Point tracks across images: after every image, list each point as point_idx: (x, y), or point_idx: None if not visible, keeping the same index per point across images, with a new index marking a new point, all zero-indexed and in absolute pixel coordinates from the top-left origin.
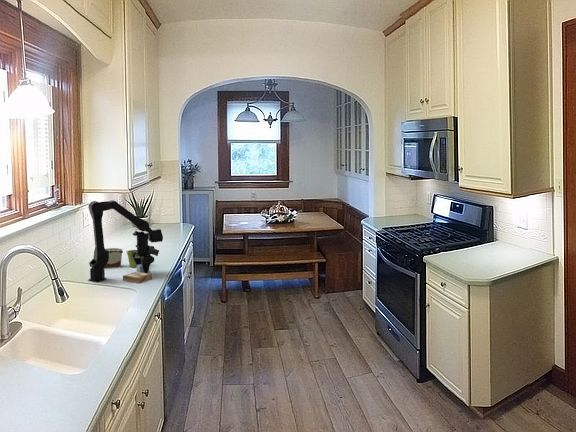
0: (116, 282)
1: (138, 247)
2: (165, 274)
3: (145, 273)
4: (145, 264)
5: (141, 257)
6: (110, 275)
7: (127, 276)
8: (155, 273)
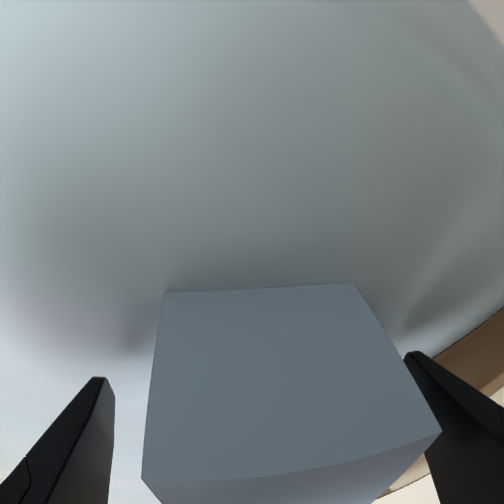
0: None
1: None
2: (489, 41)
3: (492, 395)
4: (497, 492)
5: None
6: (157, 500)
7: (417, 479)
8: (334, 142)
